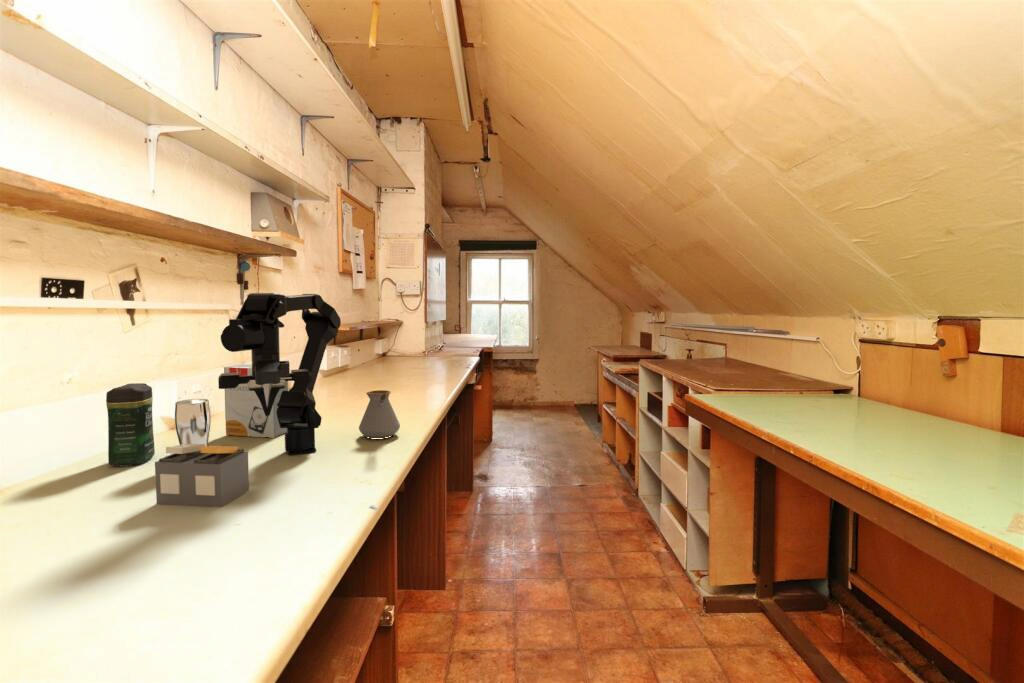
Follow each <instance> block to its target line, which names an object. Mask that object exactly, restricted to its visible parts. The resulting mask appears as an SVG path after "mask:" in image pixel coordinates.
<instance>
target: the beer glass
mask: <svg viewBox="0 0 1024 683" xmlns="http://www.w3.org/2000/svg"><path fill="white" fill-rule="evenodd" d="M174 405H175V406H174V407H175V408H174V426H175V432H176V436H177V439H178V445H183V444H205V446H209V445H208V444H209V439H210V438H209V437H210V432H211V422H212V420H211V408H210V407H211V406H210V401H209V398H208V399H207V398H190V399H183V400H179V401H176V402H174Z"/></svg>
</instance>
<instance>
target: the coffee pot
mask: <svg viewBox="0 0 1024 683" xmlns="http://www.w3.org/2000/svg"><path fill="white" fill-rule="evenodd" d="M391 393H392V392H391V390H386V389H385V390H383V389H382V390H372V391H371V390H370V391H367V392H366V395H367V396H368V398H369V402H368V404H367V406H366V409H365V411H364V414H363V416H362V417H361V418H362V419H361V421H360V422H359V426H358V431H359V432H360V433H361V434H362V435H363V436H365V438H366V437H369V438H385V437H389V436H392V435H393V436H394V435H395V434H397V433H398V431H399V430H400V427H401V425H400V421H399V419H398V417H397V415H396V413H395V411H394V408H393V406H392V403H391V401H390V400H389V398H390V394H391Z"/></svg>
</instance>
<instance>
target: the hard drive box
mask: <svg viewBox="0 0 1024 683" xmlns="http://www.w3.org/2000/svg"><path fill="white" fill-rule="evenodd" d="M223 369H224V370H223V371H224V372H223V373H239V376H247V375H252V364H245V363H243V364H235V365H229V366H224V367H223ZM284 385H285V388H283V389H280V390H279V392H278V394H277V396H276V398H275V400H274V403H273V406H272V409H271V412H270V415H269V416H265V413H264V410H263V408H262V405H261V403H260V400H259V398H258V397H257V395H256V393H255V392H254V391H249V388H248V384H239V385H238V386H237V387H236V388H229V389H224V411H225V412H224V414H225V435H226V436H235V437H250V436H251V438H253V437H254V438H259V437H269V439H275V438H277V437H279V436H278V435H280V436H282V435H284V434H283V433H286V432H287V428H280V425H279V421H278V418H277V414H276V411H277V408H278V406H277V404H278V402H279V400H280V396H281V393H282V392H283V391H289V381H285V383H284ZM263 388H264V394H265V399H266V405H267V404H268V394H269V384H264V385H263ZM281 434H282V435H281ZM276 436H277V437H276ZM274 437H275V438H274Z"/></svg>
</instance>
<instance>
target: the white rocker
mask: <svg viewBox="0 0 1024 683" xmlns="http://www.w3.org/2000/svg"><path fill="white" fill-rule="evenodd" d="M201 446H205V444H183V445H180V444H177V445H171V446H170V445H169V446H165V454H170V455H172V454H184V453H190V452H196V451H201Z"/></svg>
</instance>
